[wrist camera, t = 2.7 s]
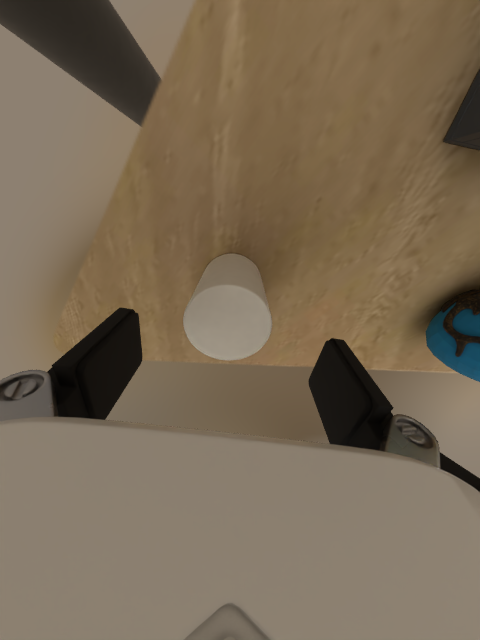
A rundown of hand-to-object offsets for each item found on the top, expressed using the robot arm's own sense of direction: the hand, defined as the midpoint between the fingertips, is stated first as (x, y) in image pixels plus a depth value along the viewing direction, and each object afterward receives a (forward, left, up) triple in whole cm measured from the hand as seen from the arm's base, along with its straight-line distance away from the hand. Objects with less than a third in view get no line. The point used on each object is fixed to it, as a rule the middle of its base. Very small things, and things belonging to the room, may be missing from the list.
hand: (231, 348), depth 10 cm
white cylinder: (0, 0, -9) cm, 9 cm away
